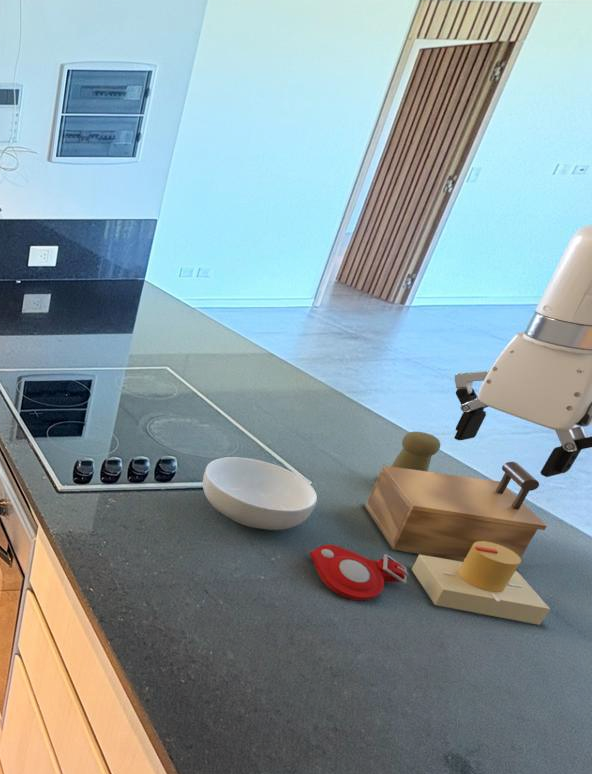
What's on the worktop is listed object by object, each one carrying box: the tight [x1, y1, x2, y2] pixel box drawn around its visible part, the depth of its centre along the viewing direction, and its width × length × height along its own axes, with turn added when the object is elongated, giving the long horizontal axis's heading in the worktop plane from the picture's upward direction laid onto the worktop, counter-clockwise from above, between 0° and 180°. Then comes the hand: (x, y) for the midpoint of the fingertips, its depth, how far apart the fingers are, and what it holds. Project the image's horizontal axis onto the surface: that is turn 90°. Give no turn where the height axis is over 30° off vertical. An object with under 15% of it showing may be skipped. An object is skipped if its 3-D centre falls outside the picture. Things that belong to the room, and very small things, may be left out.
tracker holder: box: [308, 544, 410, 601], centre depth 93 cm, size 12×4×10 cm
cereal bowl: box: [202, 456, 318, 531], centre depth 106 cm, size 17×17×7 cm
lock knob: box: [459, 541, 522, 592], centre depth 87 cm, size 5×5×5 cm
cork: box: [391, 431, 441, 472], centre depth 113 cm, size 6×6×11 cm
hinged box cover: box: [381, 461, 548, 531], centre depth 97 cm, size 16×13×6 cm
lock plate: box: [411, 554, 551, 626], centre depth 89 cm, size 12×9×3 cm
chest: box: [364, 469, 538, 562], centre depth 101 cm, size 16×13×8 cm
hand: (505, 455), depth 81 cm, fingers open, 9 cm apart
